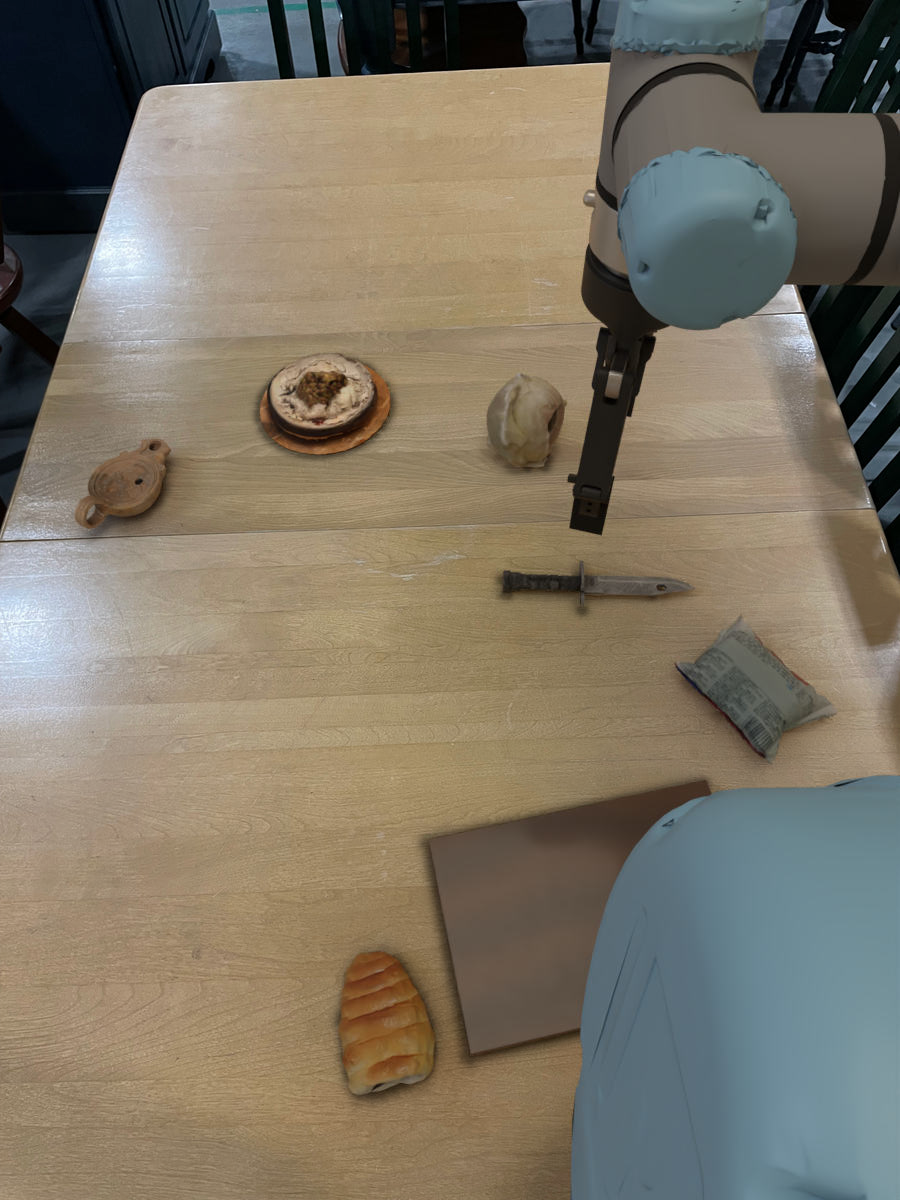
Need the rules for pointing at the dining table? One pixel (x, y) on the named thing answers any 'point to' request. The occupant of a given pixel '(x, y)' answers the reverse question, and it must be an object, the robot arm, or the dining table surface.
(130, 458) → the oil lamp
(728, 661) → the packaged food
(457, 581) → the dining table surface
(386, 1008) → the pastry
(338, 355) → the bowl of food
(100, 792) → the dining table surface
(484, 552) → the dining table surface
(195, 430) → the dining table surface
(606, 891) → the cutting board
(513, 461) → the beige rounded shell
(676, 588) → the knife
